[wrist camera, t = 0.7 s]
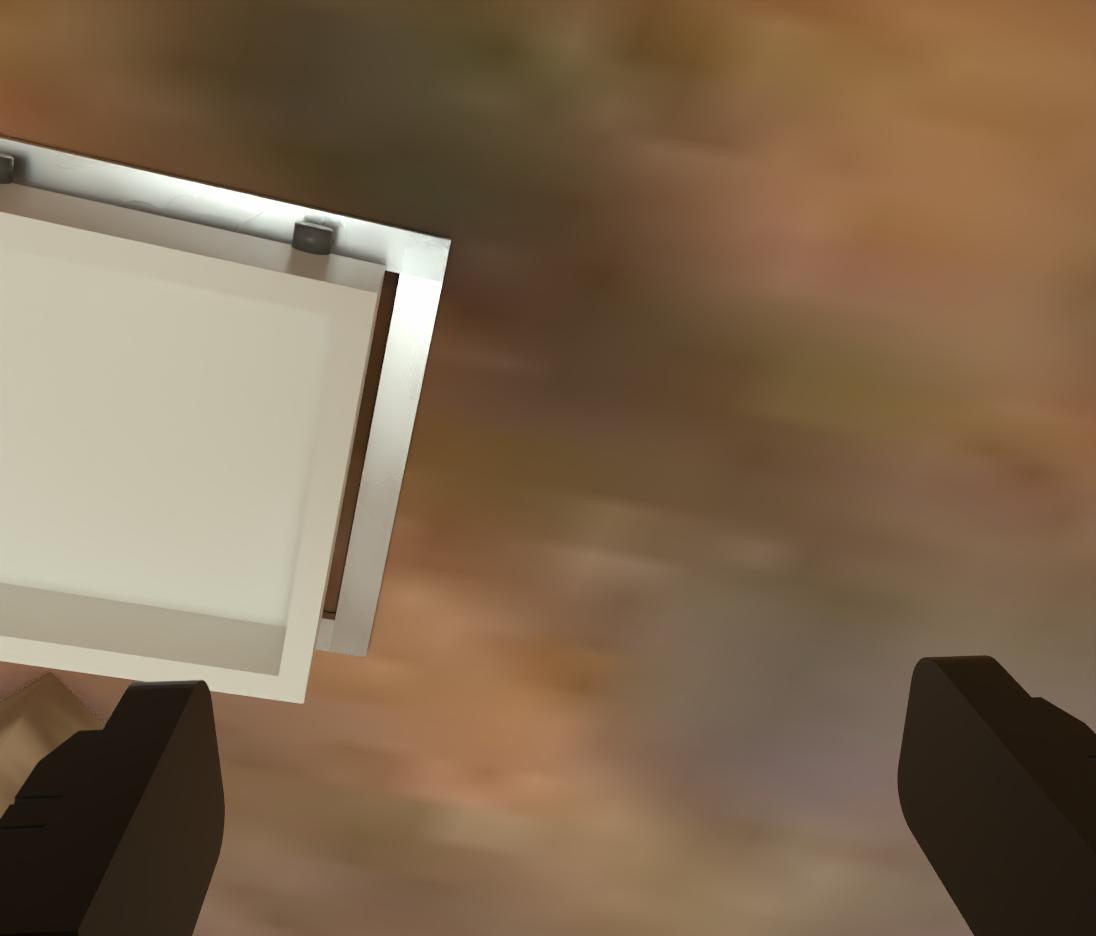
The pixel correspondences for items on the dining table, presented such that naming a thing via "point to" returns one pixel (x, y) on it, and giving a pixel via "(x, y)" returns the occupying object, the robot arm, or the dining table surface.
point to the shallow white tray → (172, 440)
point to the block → (36, 730)
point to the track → (352, 238)
